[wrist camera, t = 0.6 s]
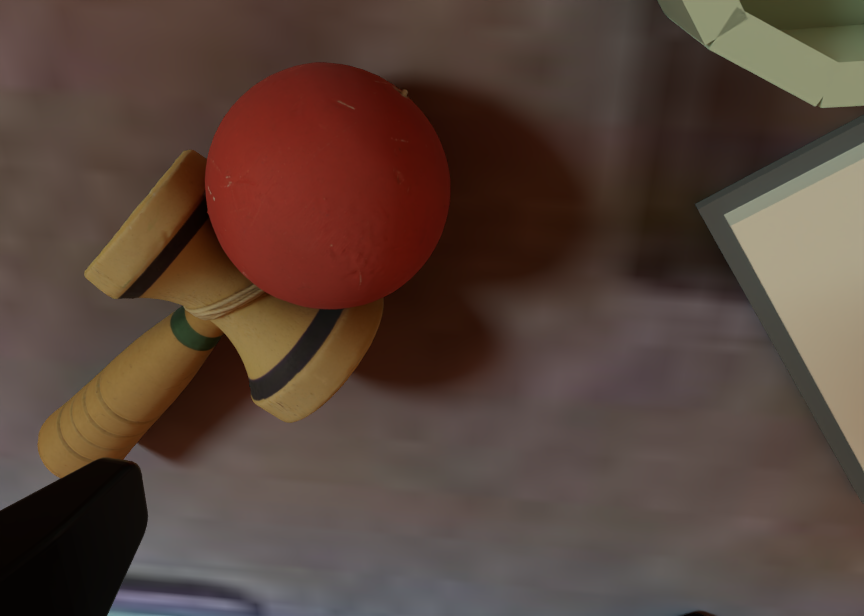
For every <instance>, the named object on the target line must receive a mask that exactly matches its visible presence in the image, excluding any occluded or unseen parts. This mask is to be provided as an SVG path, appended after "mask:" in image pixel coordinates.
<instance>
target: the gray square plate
mask: <svg viewBox="0 0 864 616" xmlns="http://www.w3.org/2000/svg"><path fill="white" fill-rule="evenodd" d="M862 143H864V115H862V116H860V117H858V118H856V119H855V120H853V121H851V122H849V123H847V124H845V125H843V126H841V127H839V128H838V129H836V130H834V131H832V132H830V133H828V134H826V135H824V136H823V137H821V138H819V139H817V140H815V141H813V142H811V143H809V144H807V145H806V146H804V147H802V148H800V149H798V150H796V151H794V152H792V153H790V154H789V155H787V156H785V157H783V158H781V159H779V160H777V161H775V162H774V163H772V164H770V165H768V166H766V167H764V168H762V169H760V170H758V171H757V172H755V173H753V174H751V175H749V176H747V177H745V178H743V179H742V180H740V181H738V182H736V183H734V184H732V185H730V186H728V187H726V188H725V189H723V190H721V191H719V192H717V193H715V194H713V195H711V196H710V197H708V198H706V199H704V200H702V201H700V202H698V203H696V204H695V205H696V207H697V209H698V210H699V212H700V214H701V216H702V218H703V219H704V221H705V223H706V225H707V227H708V228H709V230H710V232H711V234H712V236H713V237H714V239H715V241H716V243H717V244H718V246H719V248H720V250H721V252H722V253H723V255H724V257H725V259H726V261H727V262H728V264H729V266H730V268H731V270H732V271H733V273H734V275H735V277H736V278H737V280H738V282H739V284H740V286H741V287H742V289H743V291H744V293H745V295H746V296H747V298H748V300H749V302H750V304H751V305H752V307H753V309H754V311H755V313H756V314H757V316H758V318H759V320H760V321H761V323H762V325H763V327H764V329H765V330H766V332H767V334H768V336H769V338H770V339H771V341H772V343H773V345H774V347H775V348H776V350H777V352H778V354H779V355H780V357H781V359H782V361H783V363H784V364H785V366H786V368H787V370H788V372H789V373H790V375H791V377H792V379H793V381H794V382H795V384H796V386H797V388H798V390H799V391H800V393H801V395H802V397H803V398H804V400H805V402H806V404H807V406H808V407H809V409H810V411H811V413H812V415H813V416H814V418H815V420H816V422H817V424H818V425H819V427H820V429H821V431H822V432H823V434H824V436H825V438H826V440H827V441H828V443H829V445H830V447H831V449H832V450H833V452H834V454H835V456H836V458H837V459H838V461H839V463H840V465H841V466H842V468H843V470H844V472H845V474H846V475H847V477H848V479H849V481H850V483H851V484H852V486H853V488H854V490H855V492H856V493H857V495H858V497H859V499H860V501H861V502H862V504H864V471H863V469H862V467H861V466H860V464H859V462H858V460H857V458H856V456H855V455H854V453H853V451H852V449H851V447H850V445H849V444H848V442H847V440H846V438H845V436H844V434H843V433H842V431H841V429H840V427H839V425H838V423H837V422H836V420H835V418H834V416H833V414H832V412H831V411H830V409H829V407H828V405H827V403H826V401H825V400H824V398H823V396H822V394H821V392H820V390H819V389H818V387H817V385H816V383H815V381H814V379H813V377H812V376H811V374H810V372H809V370H808V368H807V366H806V365H805V363H804V361H803V359H802V357H801V355H800V354H799V352H798V350H797V348H796V346H795V344H794V343H793V341H792V339H791V337H790V335H789V333H788V332H787V330H786V328H785V326H784V324H783V322H782V321H781V319H780V317H779V315H778V313H777V311H776V310H775V308H774V306H773V304H772V302H771V300H770V299H769V297H768V295H767V293H766V291H765V289H764V288H763V286H762V284H761V282H760V280H759V278H758V277H757V275H756V273H755V271H754V269H753V267H752V266H751V264H750V262H749V260H748V258H747V256H746V255H745V253H744V251H743V249H742V247H741V245H740V244H739V242H738V240H737V238H736V236H735V234H734V233H733V231H732V229H731V227H730V225H729V223H728V222H727V220H726V218H725V216H724V214H726V213H728V212H730V211H732V210H734V209H736V208H738V207H740V206H742V205H744V204H746V203H748V202H750V201H752V200H754V199H755V198H757V197H759V196H761V195H763V194H765V193H767V192H769V191H771V190H773V189H775V188H777V187H779V186H781V185H783V184H784V183H786V182H788V181H790V180H792V179H794V178H796V177H798V176H800V175H802V174H804V173H806V172H808V171H810V170H812V169H814V168H815V167H817V166H819V165H821V164H823V163H825V162H827V161H829V160H831V159H833V158H835V157H837V156H839V155H841V154H843V153H845V152H846V151H848V150H850V149H852V148H854V147H856V146H858V145H860V144H862Z"/></svg>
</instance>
